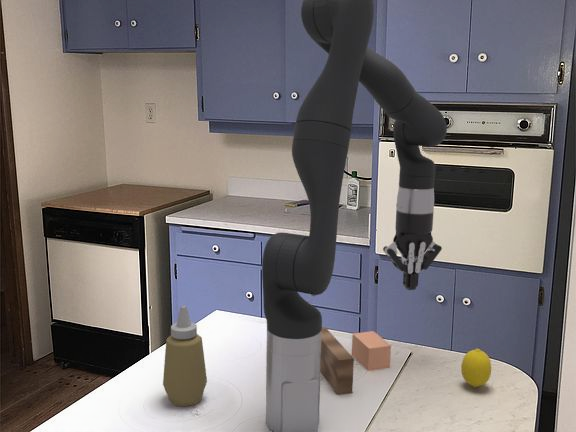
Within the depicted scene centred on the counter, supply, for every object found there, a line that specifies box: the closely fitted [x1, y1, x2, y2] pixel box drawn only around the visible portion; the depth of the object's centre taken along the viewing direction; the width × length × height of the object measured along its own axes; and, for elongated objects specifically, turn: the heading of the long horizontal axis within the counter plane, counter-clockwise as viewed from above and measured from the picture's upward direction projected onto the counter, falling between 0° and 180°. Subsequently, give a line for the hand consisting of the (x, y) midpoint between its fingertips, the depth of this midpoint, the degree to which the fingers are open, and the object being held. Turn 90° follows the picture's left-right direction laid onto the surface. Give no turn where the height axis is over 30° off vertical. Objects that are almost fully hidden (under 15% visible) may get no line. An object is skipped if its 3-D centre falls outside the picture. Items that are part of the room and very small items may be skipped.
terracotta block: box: [351, 330, 392, 371], centre depth 129 cm, size 8×5×5 cm, turn 19°
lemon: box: [460, 348, 492, 388], centre depth 118 cm, size 6×6×8 cm
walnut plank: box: [320, 326, 355, 395], centre depth 122 cm, size 16×3×7 cm, turn 16°
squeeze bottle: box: [162, 305, 208, 407], centre depth 111 cm, size 8×8×18 cm
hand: (410, 288), depth 129 cm, fingers closed
